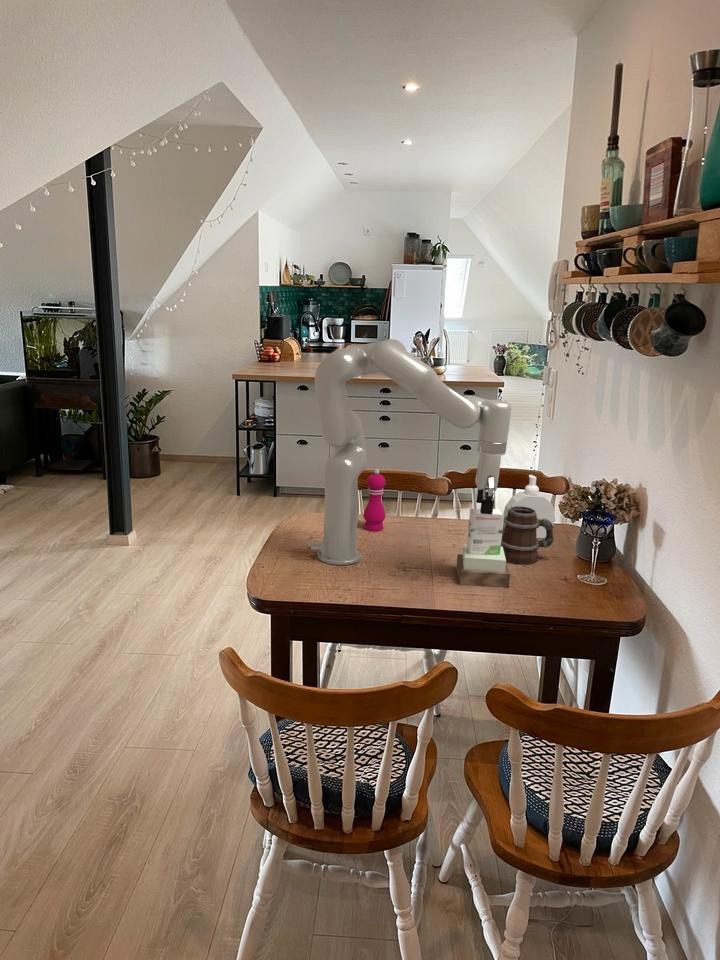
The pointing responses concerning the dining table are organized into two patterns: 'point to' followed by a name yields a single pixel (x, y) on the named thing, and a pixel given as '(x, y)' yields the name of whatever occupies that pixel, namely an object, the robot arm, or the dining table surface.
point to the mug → (524, 535)
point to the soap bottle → (533, 505)
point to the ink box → (485, 532)
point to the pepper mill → (374, 503)
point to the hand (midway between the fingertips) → (484, 508)
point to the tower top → (484, 561)
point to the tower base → (481, 576)
